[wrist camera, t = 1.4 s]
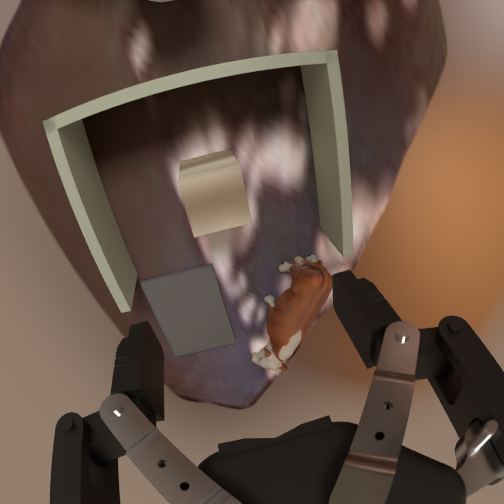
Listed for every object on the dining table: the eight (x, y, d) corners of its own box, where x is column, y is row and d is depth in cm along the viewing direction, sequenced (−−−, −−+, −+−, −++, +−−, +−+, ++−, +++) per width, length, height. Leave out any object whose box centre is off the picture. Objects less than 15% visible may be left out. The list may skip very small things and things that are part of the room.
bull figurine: (237, 326, 39) (249, 377, 32) (294, 235, 34) (322, 279, 27) (267, 333, 41) (283, 383, 34) (326, 249, 36) (357, 292, 29)
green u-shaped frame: (69, 112, 23) (42, 121, 18) (309, 53, 25) (336, 49, 20) (129, 276, 33) (121, 312, 28) (328, 226, 34) (352, 254, 29)
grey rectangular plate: (140, 281, 33) (140, 284, 33) (212, 263, 34) (212, 266, 33) (175, 353, 40) (176, 356, 39) (235, 340, 40) (236, 342, 40)
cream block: (180, 161, 28) (178, 182, 22) (229, 149, 28) (240, 167, 23) (192, 206, 30) (194, 237, 25) (239, 194, 31) (251, 223, 25)
